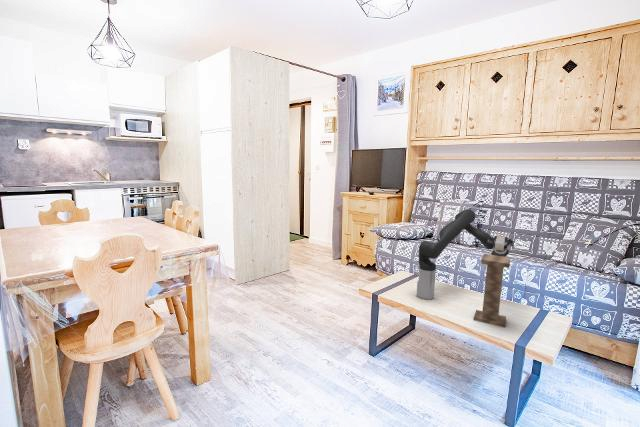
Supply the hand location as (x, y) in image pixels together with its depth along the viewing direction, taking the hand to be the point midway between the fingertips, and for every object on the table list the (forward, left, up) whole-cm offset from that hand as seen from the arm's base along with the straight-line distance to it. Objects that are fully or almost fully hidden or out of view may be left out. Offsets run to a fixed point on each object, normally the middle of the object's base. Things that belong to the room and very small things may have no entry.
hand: (500, 237), depth 182 cm
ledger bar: (0, -6, -3) cm, 7 cm away
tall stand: (0, -26, -38) cm, 46 cm away
